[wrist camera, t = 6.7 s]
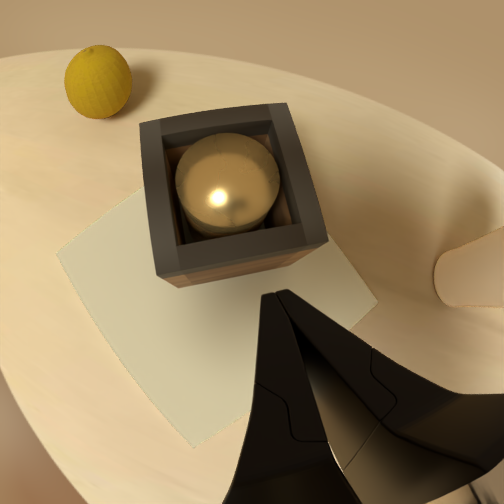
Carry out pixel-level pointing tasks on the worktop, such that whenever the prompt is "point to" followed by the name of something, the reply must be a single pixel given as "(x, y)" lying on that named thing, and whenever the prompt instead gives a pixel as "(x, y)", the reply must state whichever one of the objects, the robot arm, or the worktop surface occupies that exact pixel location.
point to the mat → (193, 316)
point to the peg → (226, 185)
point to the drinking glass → (473, 273)
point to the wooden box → (241, 245)
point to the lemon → (98, 82)
